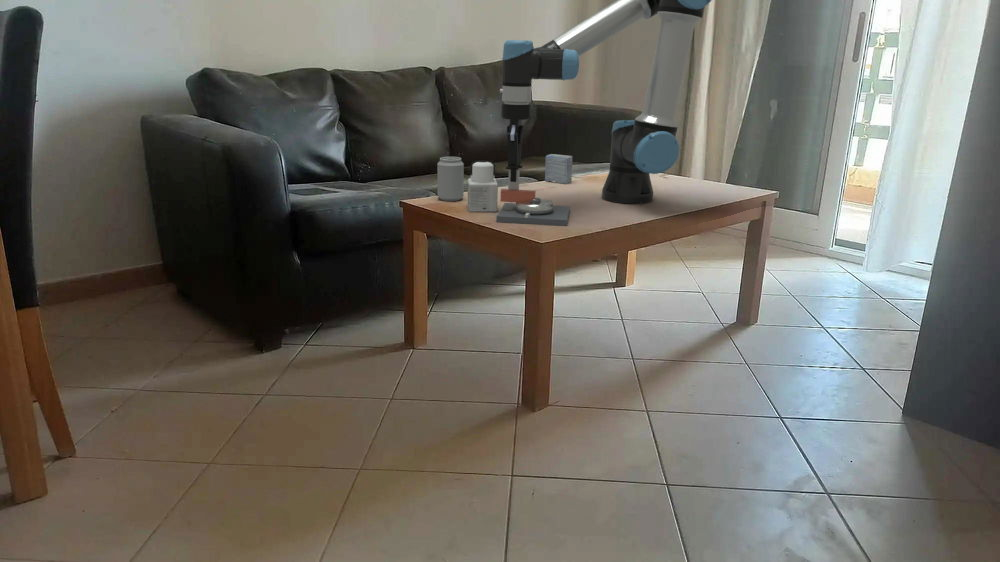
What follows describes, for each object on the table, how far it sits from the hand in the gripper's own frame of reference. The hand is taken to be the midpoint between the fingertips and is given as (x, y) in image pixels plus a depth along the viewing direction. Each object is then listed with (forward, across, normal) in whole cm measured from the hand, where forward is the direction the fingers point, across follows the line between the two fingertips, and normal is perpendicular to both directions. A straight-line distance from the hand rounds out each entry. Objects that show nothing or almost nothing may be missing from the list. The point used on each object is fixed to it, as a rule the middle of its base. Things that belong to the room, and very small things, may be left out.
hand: (513, 193), depth 193 cm
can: (+6, -12, -20) cm, 24 cm away
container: (+6, -2, -9) cm, 11 cm away
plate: (+5, +3, +6) cm, 9 cm away
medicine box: (+6, -47, +9) cm, 48 cm away
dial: (+4, +3, +4) cm, 6 cm away
